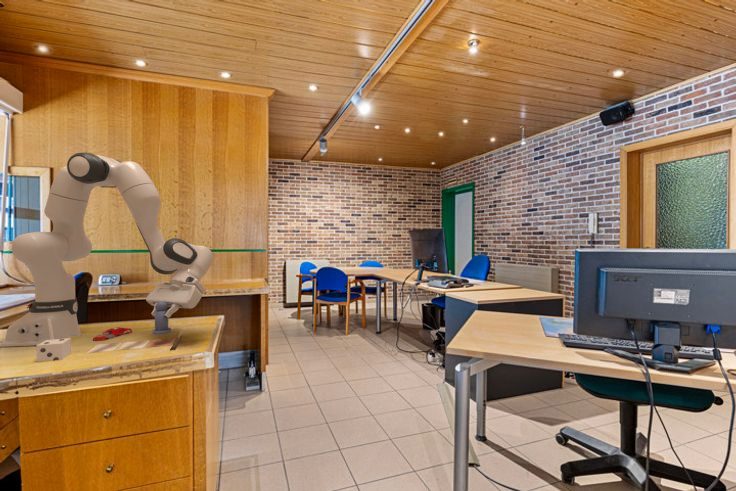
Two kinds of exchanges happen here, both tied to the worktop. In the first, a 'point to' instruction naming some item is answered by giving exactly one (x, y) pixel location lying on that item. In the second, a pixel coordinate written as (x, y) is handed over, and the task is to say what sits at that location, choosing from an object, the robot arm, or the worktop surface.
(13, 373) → the worktop surface
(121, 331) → the race car
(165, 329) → the pawn
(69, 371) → the worktop surface
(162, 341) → the board
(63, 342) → the die
